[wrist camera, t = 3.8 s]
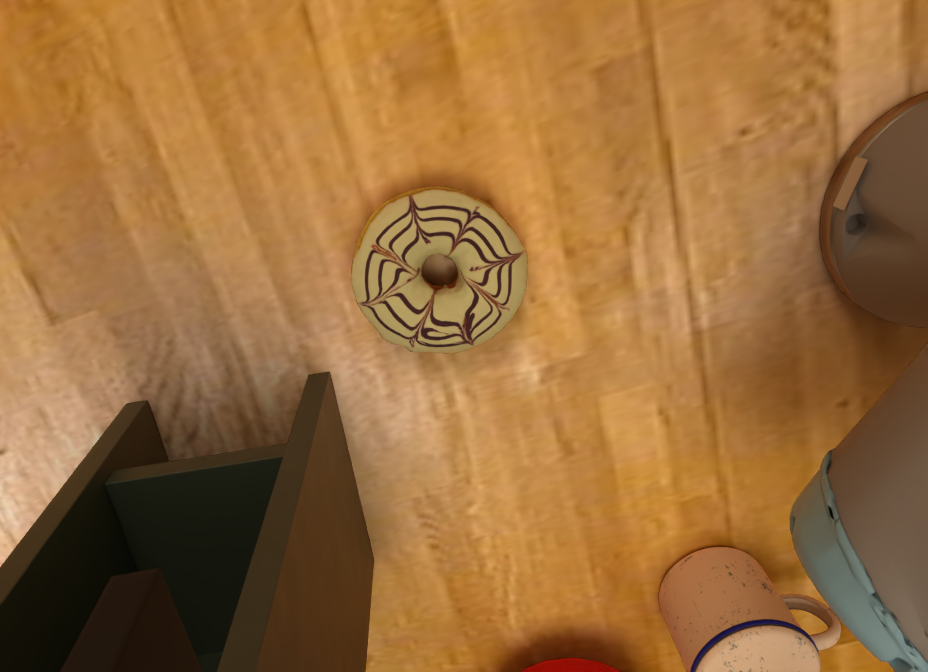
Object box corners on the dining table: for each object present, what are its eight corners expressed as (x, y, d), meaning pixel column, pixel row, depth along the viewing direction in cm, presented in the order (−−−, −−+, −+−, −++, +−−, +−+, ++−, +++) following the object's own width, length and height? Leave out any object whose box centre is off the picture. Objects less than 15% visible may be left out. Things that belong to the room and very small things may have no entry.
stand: (121, 390, 51) (-316, 927, 20) (326, 357, 51) (195, 846, 20) (195, 599, 58) (-49, 1233, 27) (376, 570, 58) (333, 1173, 27)
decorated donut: (475, 362, 52) (480, 387, 48) (329, 299, 49) (323, 320, 46) (549, 228, 48) (559, 244, 45) (396, 154, 46) (394, 164, 43)
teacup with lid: (658, 641, 62) (709, 770, 51) (649, 553, 59) (702, 671, 48) (802, 615, 62) (884, 739, 51) (802, 525, 59) (890, 637, 48)
